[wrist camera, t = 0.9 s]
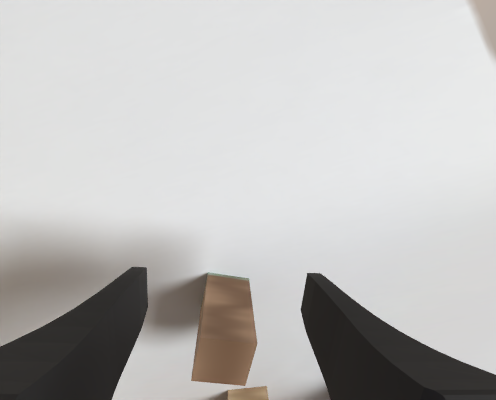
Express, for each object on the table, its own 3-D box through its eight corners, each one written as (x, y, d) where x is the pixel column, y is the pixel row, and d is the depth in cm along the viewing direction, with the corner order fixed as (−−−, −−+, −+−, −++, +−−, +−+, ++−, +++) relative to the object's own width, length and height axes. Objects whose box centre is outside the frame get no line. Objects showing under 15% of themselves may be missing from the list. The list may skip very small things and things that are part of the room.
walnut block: (248, 278, 24) (257, 344, 17) (240, 311, 25) (245, 385, 18) (207, 272, 23) (200, 337, 17) (201, 307, 24) (191, 380, 18)
